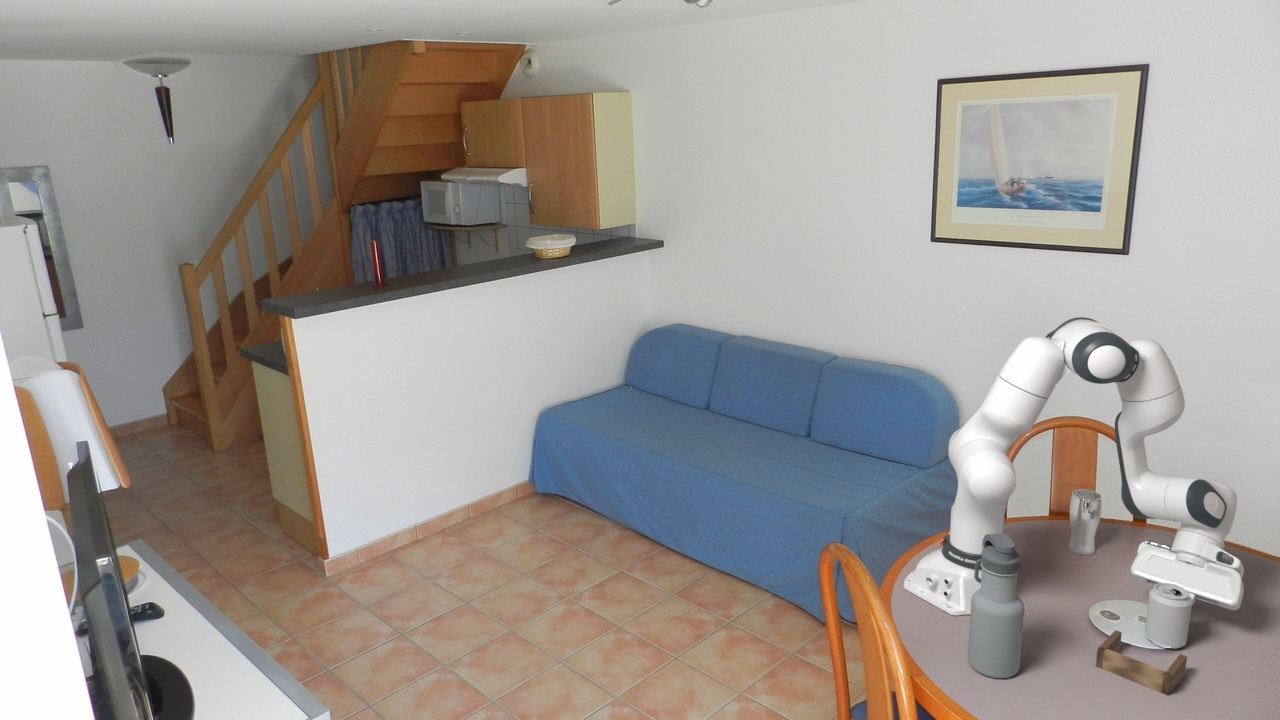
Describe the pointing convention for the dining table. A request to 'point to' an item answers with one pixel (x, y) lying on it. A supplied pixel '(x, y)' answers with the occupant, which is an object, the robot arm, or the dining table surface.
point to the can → (1168, 615)
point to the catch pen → (1139, 667)
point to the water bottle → (996, 610)
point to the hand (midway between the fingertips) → (1174, 612)
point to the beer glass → (1084, 520)
